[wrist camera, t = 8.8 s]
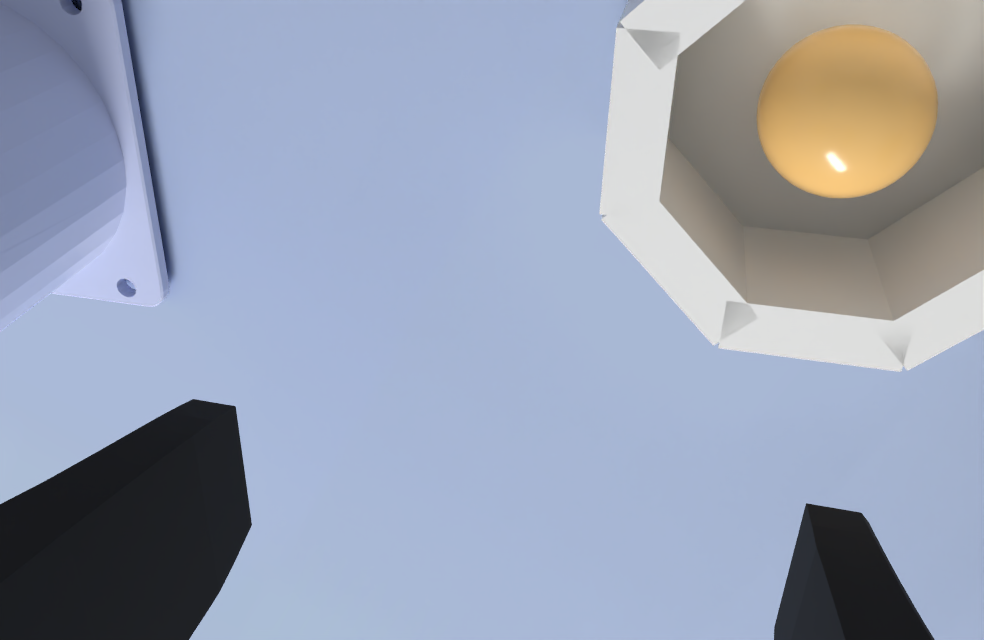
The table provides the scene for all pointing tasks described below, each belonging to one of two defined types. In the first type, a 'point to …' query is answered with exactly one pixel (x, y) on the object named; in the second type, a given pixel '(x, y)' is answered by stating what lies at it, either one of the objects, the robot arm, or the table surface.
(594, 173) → the table surface
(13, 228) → the robot arm
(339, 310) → the table surface
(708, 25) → the bowl
